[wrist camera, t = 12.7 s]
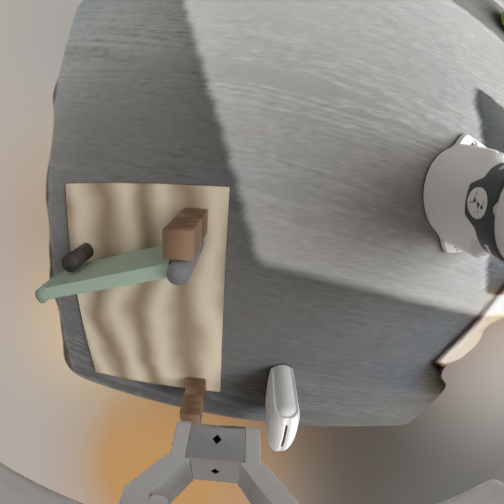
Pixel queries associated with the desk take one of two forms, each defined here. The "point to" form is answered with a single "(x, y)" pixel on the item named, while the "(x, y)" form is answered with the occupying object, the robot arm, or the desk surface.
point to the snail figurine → (502, 18)
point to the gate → (118, 273)
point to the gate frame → (154, 283)
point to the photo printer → (281, 408)
